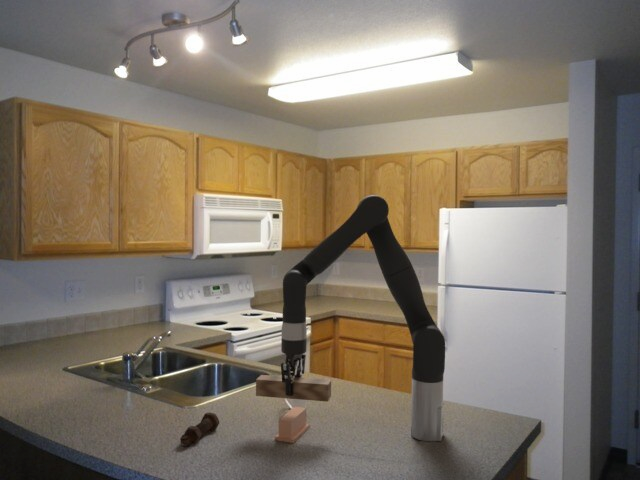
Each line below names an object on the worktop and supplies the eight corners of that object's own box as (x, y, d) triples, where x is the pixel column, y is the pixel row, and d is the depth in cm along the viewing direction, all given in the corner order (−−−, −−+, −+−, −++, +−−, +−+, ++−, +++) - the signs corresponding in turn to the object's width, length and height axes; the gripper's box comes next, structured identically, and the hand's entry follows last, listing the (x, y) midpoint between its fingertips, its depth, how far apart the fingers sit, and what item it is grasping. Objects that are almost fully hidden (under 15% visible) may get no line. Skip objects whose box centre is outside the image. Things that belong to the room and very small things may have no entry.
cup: (299, 416, 174) (299, 391, 174) (277, 409, 180) (277, 385, 180) (313, 410, 179) (313, 387, 179) (291, 404, 185) (291, 381, 185)
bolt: (182, 453, 149) (209, 432, 163) (195, 447, 147) (222, 426, 161) (172, 434, 149) (201, 415, 164) (186, 428, 148) (213, 409, 162)
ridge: (309, 427, 164) (310, 407, 164) (293, 443, 152) (293, 422, 152) (291, 424, 167) (292, 405, 166) (274, 440, 154) (274, 419, 154)
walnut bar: (331, 396, 159) (331, 379, 159) (327, 401, 154) (328, 384, 154) (261, 390, 164) (261, 374, 164) (255, 395, 159) (256, 379, 159)
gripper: (296, 342, 151) (295, 401, 151) (314, 333, 164) (313, 387, 165) (272, 340, 153) (271, 398, 154) (291, 331, 167) (291, 384, 167)
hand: (293, 392), depth 159 cm, fingers closed on walnut bar, 5 cm apart
